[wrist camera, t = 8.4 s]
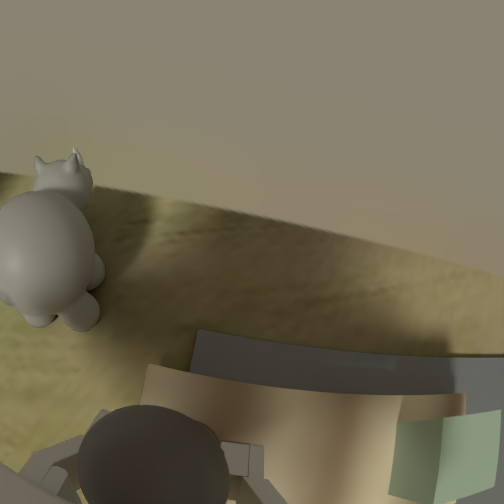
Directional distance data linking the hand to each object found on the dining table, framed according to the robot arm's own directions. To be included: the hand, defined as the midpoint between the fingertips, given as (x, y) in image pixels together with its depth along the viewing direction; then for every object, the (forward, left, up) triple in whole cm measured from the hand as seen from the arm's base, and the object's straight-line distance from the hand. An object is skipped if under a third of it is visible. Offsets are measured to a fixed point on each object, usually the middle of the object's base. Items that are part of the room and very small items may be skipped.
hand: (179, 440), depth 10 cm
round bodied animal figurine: (-11, +9, -7) cm, 16 cm away
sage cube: (+14, -1, -5) cm, 14 cm away
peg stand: (+7, -1, -6) cm, 9 cm away
